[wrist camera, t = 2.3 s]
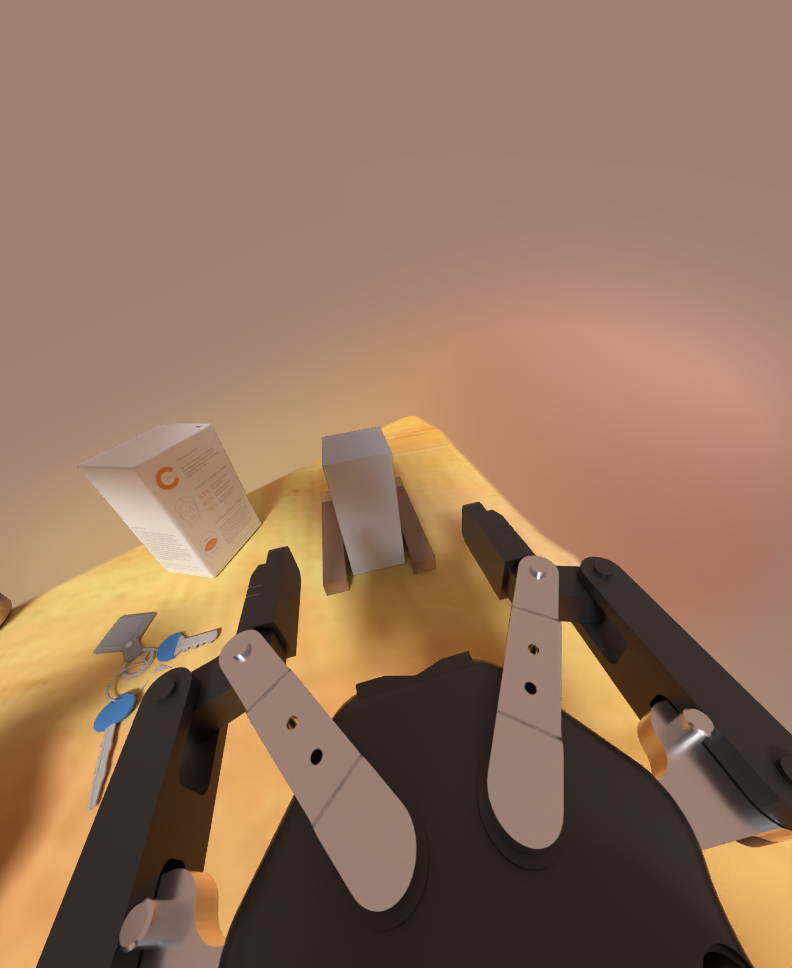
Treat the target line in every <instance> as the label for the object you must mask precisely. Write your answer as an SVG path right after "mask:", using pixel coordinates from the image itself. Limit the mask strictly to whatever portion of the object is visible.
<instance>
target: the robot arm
mask: <svg viewBox="0 0 792 968" xmlns="http://www.w3.org/2000/svg"><path fill="white" fill-rule="evenodd" d="M462 534H463V538H464V540H465V542H466V544H467V546H468V547H469V549H470V551H471V553H472V554H473V556H474V558H475V559H476V561H477V563H478V564H479V566H480V568H481V569H482V571H483V573H484V574H485V576H486V578H487V579H488V581H489V583H490V584H491V586H492V588H493V589H494V591H495V593H496V595H497V596H498V598H499V600H502V599H505V598H509V600H510V601H511V603H512V606H511V613H510V619H509V626H508V632H507V639H506V645H505V652H504V658H503V664H502V667H500V666H498V665H496V664H493V663H491V662H487V661H483V660H476V659H472V658H471V656H470V653H469V651H467V652H463V653H460V654H457V655H453V656H450V657H447V658H443V659H441V660H439V661H438V662H436V663H435V664H433V665H432V666H430V667H429V668H427V669H425V670H424V671H422V672H421V673H419V674H417V675H415V676H383V677H379V678H376V679H372V680H369V681H366V682H362V683H359V684H356V690H357V694H356V695H354V696H353V697H351V698H350V699H349V700H348V701H346V702H345V703H344V704H343V705H342V706H341V708H340V709H339V710H338V711H337V712H336V714H335V715H334V716H333V718H332V719H331V717H330V716H329V715H328V714H327V713H326V711H325V710H324V709H323V708H322V707H321V705H320V704H319V703H318V702H317V700H316V699H315V698H314V697H313V696H312V694H311V693H310V692H309V691H308V690H307V688H306V687H305V686H304V685H303V683H302V682H301V681H300V680H299V679H298V677H297V676H296V675H295V674H294V673H293V671H292V670H291V669H289V668H288V667H287V666H286V659H287V658H290V657H294V656H296V647H297V633H298V619H299V605H300V590H301V576H300V571H299V569H298V566H297V564H296V562H295V560H294V557H293V555H292V553H291V551H290V549H289V547H288V546H285V547H281V548H277V549H272V550H269V552H268V556H267V561H266V564H261V565H258V567H257V568H256V570H255V571H254V573H253V574H252V575H251V578H250V582H249V586H248V587H249V589H248V590H247V594H246V598H245V602H244V606H243V610H242V614H241V618H240V622H239V626H238V630H237V633H236V635H235V636H234V637H233V638H231V639H230V640H229V641H228V642H227V643H226V645H225V646H224V648H223V649H222V651H221V654H220V655H219V656H218V657H217V658H215V659H213V660H212V661H210V662H208V663H206V664H205V665H203V666H201V667H199V668H197V669H196V670H194V671H192V672H190V671H189V670H188V669H187V668H183V667H179V668H175V669H172V670H170V671H168V672H166V673H165V674H163V675H162V676H160V677H159V678H158V679H157V680H156V681H155V682H154V683H153V684H152V685H151V686H150V687H149V689H148V690H147V691H146V693H145V695H144V696H143V699H142V701H141V703H140V706H139V708H138V711H137V714H136V716H135V719H134V721H133V724H132V726H131V729H130V731H129V734H128V736H127V739H126V741H125V744H124V746H123V749H122V751H121V754H120V757H119V759H118V762H117V764H116V767H115V769H114V772H113V774H112V777H111V779H110V782H109V784H108V787H107V789H106V792H105V794H104V797H103V799H102V802H101V805H100V807H99V810H98V812H97V815H96V817H95V820H94V822H93V825H92V827H91V830H90V832H89V835H88V837H87V840H86V842H85V845H84V847H83V850H82V853H81V855H80V858H79V860H78V863H77V865H76V868H75V870H74V873H73V875H72V878H71V880H70V883H69V885H68V888H67V890H66V893H65V895H64V898H63V901H62V903H61V906H60V908H59V911H58V913H57V916H56V918H55V921H54V923H53V926H52V928H51V931H50V933H49V936H48V938H47V941H46V944H45V946H44V949H43V951H42V954H41V956H40V959H39V961H38V964H37V966H36V968H754V967H753V965H752V963H751V962H750V960H749V958H748V957H747V955H746V953H745V951H744V949H743V948H742V946H741V944H740V942H739V940H738V938H737V936H736V934H735V932H734V930H733V928H732V926H731V924H730V922H729V920H728V918H727V916H726V914H725V911H724V909H723V907H722V905H721V902H720V900H719V898H718V895H717V893H716V890H715V888H714V885H713V882H712V880H711V877H710V874H709V871H708V868H707V865H706V861H705V858H704V856H703V853H702V850H704V849H708V848H711V847H715V846H718V845H722V844H725V843H729V842H732V841H737V842H739V843H741V844H743V845H746V846H750V847H761V846H765V845H769V844H774V843H778V842H782V841H786V840H790V839H792V735H791V734H790V733H789V732H788V731H787V730H786V729H785V728H784V727H783V726H782V725H781V724H780V723H779V722H778V721H777V720H776V719H775V718H774V717H773V716H772V715H771V714H770V713H769V712H768V711H767V710H766V709H764V707H763V706H762V705H761V704H760V703H759V702H757V701H756V700H755V699H754V698H753V697H752V696H751V695H750V694H749V693H748V692H747V691H746V690H745V689H744V688H743V687H742V686H741V685H740V684H739V683H738V682H737V681H736V680H735V679H734V678H733V677H732V676H731V675H730V674H729V673H728V672H727V671H726V670H725V669H724V668H722V666H721V665H720V664H718V662H716V661H715V660H714V659H713V658H712V657H711V656H710V655H709V654H708V653H707V652H706V651H705V650H704V649H703V648H702V647H701V646H700V645H699V644H698V643H697V642H696V641H695V640H694V639H693V638H692V637H691V636H690V635H689V634H688V633H687V632H686V631H685V630H683V628H682V627H681V626H680V625H678V624H677V622H675V621H674V620H673V619H672V618H671V617H670V616H669V615H668V614H667V613H666V612H665V611H664V610H663V609H662V608H661V607H660V606H659V605H658V604H657V603H656V602H655V601H654V600H653V599H652V598H651V597H650V596H649V595H648V594H647V593H646V592H645V591H644V590H643V589H642V588H640V586H639V585H638V584H637V583H635V582H634V581H633V580H632V579H631V578H630V577H629V576H628V575H627V574H626V573H625V572H624V571H623V570H622V569H621V568H620V567H619V566H618V565H616V564H615V563H613V562H612V561H610V560H607V559H604V558H600V557H588V558H586V559H584V560H583V561H582V562H581V565H580V567H578V566H556V565H554V564H553V563H552V562H551V561H549V560H548V559H546V558H543V557H540V556H536V555H535V554H534V553H533V552H532V550H531V549H530V548H529V547H528V546H527V544H526V543H525V542H524V541H523V540H522V538H521V537H520V536H519V535H518V534H517V532H516V531H514V529H513V528H512V527H511V525H509V523H508V522H507V521H506V519H505V518H504V517H503V516H502V515H500V514H499V513H497V512H495V511H494V510H489V511H487V510H486V509H485V508H484V507H483V505H482V504H481V503H480V502H475V503H471V504H466V505H463V507H462ZM11 607H12V604H11V600H9V599H8V598H7V597H5V596H4V595H2V594H1V593H0V625H1V624H2V623H3V622H4V620H5V619H6V617H7V616H8V614H9V613H10V610H11ZM561 621H567V622H572V624H573V625H574V627H575V628H576V630H577V631H578V632H579V634H580V635H581V637H582V638H583V640H584V641H585V642H586V644H587V645H588V647H589V648H590V650H591V651H592V652H593V654H594V655H595V657H596V658H597V659H598V661H599V662H600V664H601V665H602V667H603V668H604V669H605V671H606V672H607V674H608V675H609V677H610V678H611V679H612V681H613V682H614V684H615V685H616V687H617V688H618V689H619V691H620V692H621V694H622V695H623V696H624V698H625V699H626V701H627V702H628V704H629V705H630V706H631V708H632V709H633V711H634V712H635V714H636V715H637V716H638V718H639V719H640V722H639V723H638V727H637V733H638V738H639V741H640V743H641V746H642V747H643V749H644V751H645V753H646V755H647V757H648V759H649V762H650V766H651V771H652V774H651V773H650V772H649V771H648V770H647V769H645V768H644V767H643V766H642V765H640V764H639V763H638V762H636V761H635V760H633V759H632V758H631V757H629V756H628V755H626V754H625V753H624V752H622V751H621V750H619V749H618V748H616V747H615V746H614V745H612V744H611V743H609V742H608V741H606V740H605V739H604V738H602V737H601V736H599V735H598V734H597V733H595V732H594V731H592V730H591V729H589V728H588V727H587V726H585V725H584V724H582V723H581V722H580V721H578V720H577V719H575V718H574V717H572V716H571V715H570V714H568V713H567V712H565V711H564V710H562V709H561V654H562V625H561ZM246 711H247V712H246ZM245 712H246V714H247V717H248V718H249V720H250V722H251V724H252V725H253V727H254V729H255V730H256V732H257V734H258V735H259V737H260V739H261V740H262V742H263V743H264V745H265V747H266V748H267V750H268V752H269V753H270V755H271V757H272V758H273V760H274V762H275V763H276V765H277V767H278V768H279V770H280V772H281V773H282V775H283V777H284V778H285V780H286V782H287V783H288V785H289V787H290V788H291V790H292V792H293V793H294V795H293V798H292V800H291V802H290V804H289V806H288V808H287V810H286V812H285V814H284V816H283V818H282V820H281V822H280V824H279V826H278V828H277V830H276V832H275V834H274V836H273V838H272V840H271V842H270V844H269V846H268V848H267V850H266V852H265V854H264V857H263V859H262V861H261V863H260V865H259V867H258V869H257V871H256V873H255V875H254V877H253V879H252V881H251V883H250V885H249V887H248V889H247V891H246V893H245V895H244V897H243V899H242V901H241V903H240V905H239V907H238V910H237V912H236V914H235V916H234V919H233V921H232V923H231V926H230V929H229V931H228V934H227V937H226V939H225V937H224V936H223V935H222V932H221V930H220V926H219V921H218V899H219V897H218V888H217V884H216V882H215V880H214V879H213V877H212V876H211V875H209V874H207V873H203V870H204V864H205V858H206V852H207V846H208V841H209V835H210V829H211V823H212V817H213V811H214V805H215V799H216V793H217V787H218V781H219V775H220V769H221V763H222V757H223V752H224V746H225V740H226V734H227V728H228V723H229V722H231V721H232V720H234V719H235V718H237V717H238V716H240V715H241V714H243V713H245Z"/></svg>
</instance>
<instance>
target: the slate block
mask: <svg viewBox="0 0 792 968" xmlns="http://www.w3.org/2000/svg"><path fill="white" fill-rule="evenodd" d="M322 466H323V470H324V473H325V477H326V480H327V484H328V487H329V491H330V494H331V498H332V501H333V505H334V509H335V512H336V516H337V519H338V523H339V526H340V530H341V533H342V537H343V540H344V544H345V547H346V551H347V554H348V558H349V561H350V565H351V568H352V572H353V575H358V574H362V573H366V572H370V571H374V570H378V569H383V568H387V567H391V566H395V565H399V564H403V563H405V557H404V549H403V540H402V532H401V524H400V516H399V508H398V500H397V492H396V484H395V476H394V468H393V460H392V452H391V450H390V448H389V446H388V443H387V441H386V439H385V437H384V435H383V432H382V430H381V428H380V427H375V428H369V429H364V430H358V431H353V432H347V433H342V434H336V435H332V436H325V437H322Z"/></svg>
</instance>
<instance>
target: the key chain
mask: <svg viewBox="0 0 792 968" xmlns="http://www.w3.org/2000/svg"><path fill="white" fill-rule="evenodd" d="M155 615H156V613H154V612H151V613H142V614H133V615H124V616H122V617H120V618H119V619H118V620H117V622H116V623H115V624H114V626H113V627H112V628H111V629H110V631H109V632H108V633H107V635H106V636H105V637H104V639H103V640H102V641H101V642H100V644H99V645H98V646H97V648H96V649H95V651H94V653H95V654H100V653H109V652H118V651H122V652H123V655H124V660H125V663H124V664H123V666H122V669H121V672H120V673H119V674H117V675H116V676H115V677H114V678H113V680H112V681H111V682H110V683H109V685H108V687H107V690H106V693H105V694H106V697H107V700H110V701H111V702H110V703H109V704H108V705H107V706H106V707H105V708H104V709H103V710H102V711H101V712H100V714H99V715H98V716H97V718H96V720H95V722H94V729H95V730H96V731H97V732H101V731H105V733H104V737H103V741H102V745H101V752H100V756H99V757H98V761H97V765H96V769H95V773H94V774H95V776H94V780H93V784H92V789H91V794H90V799H89V804H88V809H87V810H91V809H92V808H93V807H95V806H97V802H98V799H99V795H100V791H101V788H102V784H103V781H104V779H105V776H106V772H107V764H108V759H109V755H110V751H111V750H112V746H113V738H114V733H115V729H116V724H117V723H118V722H121V721H122V720H123V719H124V718H125V717H126V716H127V715H128V714H129V713H130V712H131V710H132V709H133V707H134V705H135V702H136V696H135V695H136V694H137V693H138V692H139V691H141V690H142V689H143V688H144V687H145V685H146V684H145V685H144V686H143V687H142V688H141V689H139V690H138V691H137V692H136V693H134V694H132V693H127V694H123V695H121V696H119V697H117V698H116V699H113V698H110V696H109V694H108V691H109V688H110V685H111V683H112V682H113V681H114V680H115V678H116V677H117V676H118V675H120V674H121V676H122V678H125V679H130V678H133V677H136V676H138V675H139V674H141V673H142V672H144V671H145V670H146V669H147V668H148V667H149V666H150V665H151V663H152V661H153V660H154V658H155V653H156V651H157V658H158V659H159V660H160V661H169V660H171V659H173V658H175V656H176V655H177V654H178V653H179V652H180V651H181V650H182V651H181V652H185V650H188V648H189V647H191V648H193V649H195V648H197V645H198V644H200V645H199V646H202V645H203V643H206V642H208V643H212V641H213V640H215V639H216V637H217V635H218V630H214V631H210V632H207V633H203V634H200V635H196V636H192V637H189V638H185V637H184V636H183V633H176V634H174V635H172V636H169V637H168V638H167V639H166V640H165V641H164V642H162V644H161V645H160V647H159V649H157V648H150V647H146V648H143V649H142V647H141V644H140V641H139V640H140V638H141V636H142V635H143V633H144V632H145V630H146V629H147V627H148V626H149V624H150V623H151V621H152V620H153V618H154V617H155ZM143 652H146V653H145V654H144V656H143V661H144V662H145V663H144V662H143V663H138V664H134V665H132V666H130V667H128V668H127V665H128V664H129V663H130V662H131V661H133V660H134V659H136V658H137V657H138V656H140V655H141V654H143ZM148 652H149V653H150V654H151V656H150V659H149V660H148V661H147V660H146V659H145V656H146V654H147V653H148ZM141 664H146V665H145V666H144V667H143V668H142V669H140V670H139V671H137V672H135V673H133V674H127V672H126V670H127V669H129V668H131V667H133V666H136V665H141ZM168 668H171V667H169V666H164V665H160V666H159V667H157V668H156V669H155V670H154V671H153V672H152V673H154V672H157V671H161V670H164V669H168ZM147 682H148V681H147ZM147 682H146V683H147Z"/></svg>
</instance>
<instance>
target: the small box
mask: <svg viewBox="0 0 792 968" xmlns="http://www.w3.org/2000/svg"><path fill="white" fill-rule="evenodd" d="M77 467H78V468H79V469H80V470H81V472H82V473H83V474H84V475H85V476H86V477H87V479H88V480H89V481H90V482H91V483H92V484H93V486H94V487H95V488H96V489H97V490H98V491H99V493H100V494H101V495H102V496H103V497H104V499H105V500H106V501H107V502H108V503H109V504H110V505H111V507H112V508H113V509H114V510H115V511H116V513H117V514H118V515H119V516H120V517H121V518H122V519H123V520H124V522H125V523H126V524H127V525H128V526H129V528H130V529H131V530H132V531H133V532H134V534H135V535H136V536H137V537H138V538H139V540H140V541H141V542H142V543H143V544H144V545H145V547H146V548H147V549H148V550H149V551H150V552H151V553H152V555H153V556H154V557H155V558H156V559H157V560H158V562H159V563H160V564H161V565H162V566H163V567H164V569H165V570H166V571H168V572H175V573H182V574H189V575H195V576H201V577H209V578H215V577H216V576H217V575H218V574H219V573H220V572H221V570H222V569H223V568H224V567H225V566H226V565H227V563H228V562H229V561H230V560H231V559H232V558H233V556H234V555H235V554H236V553H237V552H238V551H239V549H240V548H241V547H242V546H243V545H244V544H245V542H246V541H247V540H248V539H249V538H250V537H251V535H252V534H253V533H254V532H255V531H256V530H257V528H258V527H259V526H260V525H261V523H260V521H259V519H258V516H257V514H256V512H255V510H254V508H253V506H252V504H251V502H250V500H249V498H248V496H247V494H246V492H245V490H244V488H243V486H242V484H241V482H240V480H239V478H238V476H237V474H236V472H235V470H234V468H233V466H232V464H231V462H230V460H229V458H228V456H227V454H226V452H225V450H224V448H223V446H222V444H221V442H220V440H219V438H218V436H217V434H216V432H215V430H214V428H213V426H212V424H161V425H159V426H157V427H155V428H153V429H151V430H149V431H147V432H144V433H142V434H140V435H138V436H136V437H134V438H132V439H130V440H128V441H126V442H124V443H122V444H120V445H118V446H116V447H113V448H111V449H109V450H107V451H105V452H103V453H101V454H99V455H97V456H95V457H93V458H91V459H89V460H87V461H84V462H82V463H80V464H78V465H77Z"/></svg>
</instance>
